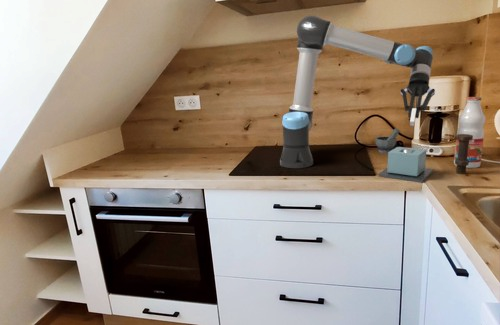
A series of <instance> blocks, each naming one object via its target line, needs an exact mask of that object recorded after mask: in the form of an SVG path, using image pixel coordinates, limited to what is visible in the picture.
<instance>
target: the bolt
mask: <svg viewBox="0 0 500 325" xmlns="http://www.w3.org/2000/svg"><path fill="white" fill-rule="evenodd" d="M456 139H457V140H459V150H458V157H457V159H456V160H455V164H456V165H457V166H456V165H455V164H454V165H455V166H456V167H455V168H456V170H455V173H456V174H459V175H465V174H466V170H467V168H466V166H467V165H468V164H469V160H468V159H467V155H468V146H469V140H472V139H473V136H472V135H469V134H458V135H457V134H456V136H455V140H456Z"/></svg>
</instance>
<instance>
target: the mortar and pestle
mask: <svg viewBox="0 0 500 325" xmlns="http://www.w3.org/2000/svg"><path fill="white" fill-rule="evenodd" d="M400 132H401V130H399V129H398V128H396V127H395V128H394V129H393V131H392V133H390V135H389V136H377V137H374V140H375V142H374V143H375V145H376V147H377V148H378V153H380V154H388V152H390V151H391V150H393V149H394V147H395V146H396V145H397V136H398V135H399V133H400Z"/></svg>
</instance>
